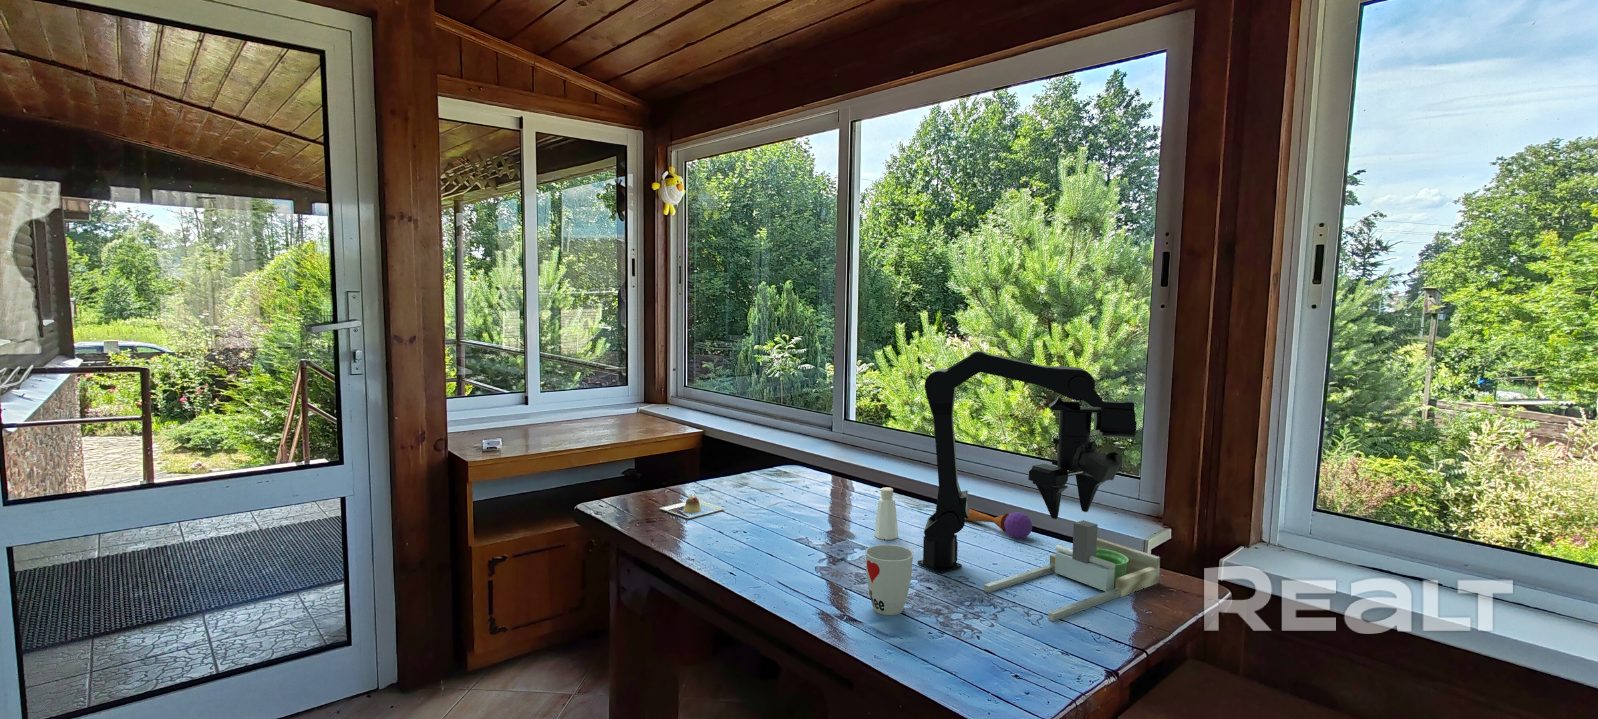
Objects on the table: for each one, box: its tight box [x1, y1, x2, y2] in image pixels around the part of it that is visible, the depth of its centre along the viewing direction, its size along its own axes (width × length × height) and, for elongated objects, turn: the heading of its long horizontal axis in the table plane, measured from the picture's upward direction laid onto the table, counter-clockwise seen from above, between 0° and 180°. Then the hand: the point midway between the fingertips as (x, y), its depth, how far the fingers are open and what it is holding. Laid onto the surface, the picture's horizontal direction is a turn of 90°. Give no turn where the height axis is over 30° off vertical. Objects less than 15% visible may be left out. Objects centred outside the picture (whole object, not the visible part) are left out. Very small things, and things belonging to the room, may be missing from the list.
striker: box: [1054, 519, 1115, 592], centre depth 135 cm, size 3×12×11 cm, turn 33°
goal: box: [983, 537, 1161, 622], centre depth 133 cm, size 31×15×5 cm, turn 123°
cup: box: [865, 544, 914, 616], centre depth 123 cm, size 8×8×10 cm
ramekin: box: [1096, 548, 1129, 586], centre depth 138 cm, size 9×9×4 cm
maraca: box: [965, 508, 1033, 540], centre depth 167 cm, size 6×6×20 cm
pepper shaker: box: [874, 486, 899, 541], centre depth 161 cm, size 5×5×11 cm
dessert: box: [659, 493, 727, 520], centre depth 181 cm, size 12×12×5 cm
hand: (1069, 514), depth 136 cm, fingers open, 9 cm apart
